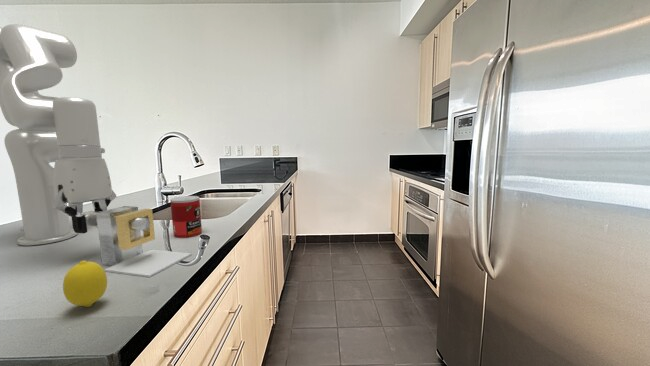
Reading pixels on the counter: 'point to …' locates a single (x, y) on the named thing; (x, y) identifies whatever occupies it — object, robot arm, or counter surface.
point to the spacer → (124, 230)
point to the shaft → (133, 224)
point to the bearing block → (115, 236)
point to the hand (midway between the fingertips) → (90, 229)
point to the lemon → (85, 283)
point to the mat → (148, 263)
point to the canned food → (186, 216)
